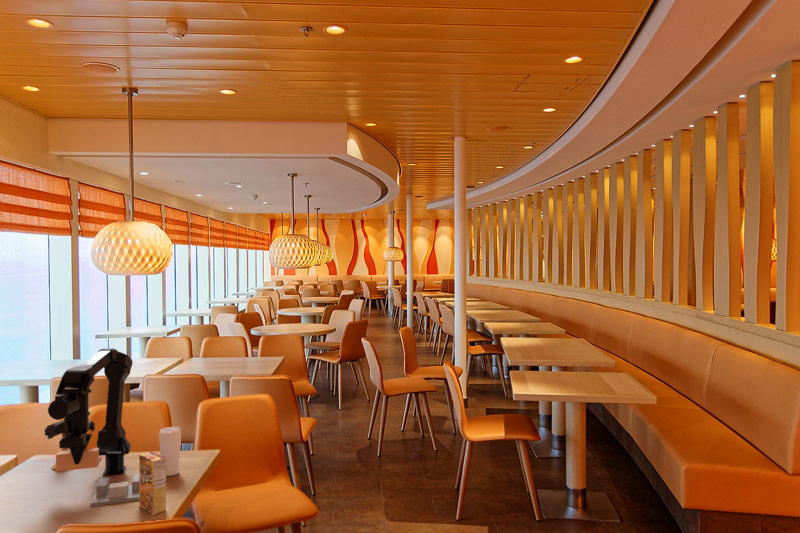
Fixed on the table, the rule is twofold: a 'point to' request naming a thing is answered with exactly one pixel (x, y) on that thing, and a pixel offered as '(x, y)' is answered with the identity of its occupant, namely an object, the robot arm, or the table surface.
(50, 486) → the table surface
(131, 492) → the display stand
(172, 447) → the drinking glass
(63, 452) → the orange bracket
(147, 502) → the candy box
